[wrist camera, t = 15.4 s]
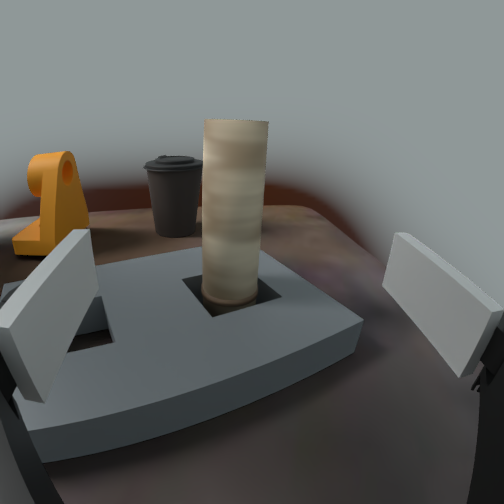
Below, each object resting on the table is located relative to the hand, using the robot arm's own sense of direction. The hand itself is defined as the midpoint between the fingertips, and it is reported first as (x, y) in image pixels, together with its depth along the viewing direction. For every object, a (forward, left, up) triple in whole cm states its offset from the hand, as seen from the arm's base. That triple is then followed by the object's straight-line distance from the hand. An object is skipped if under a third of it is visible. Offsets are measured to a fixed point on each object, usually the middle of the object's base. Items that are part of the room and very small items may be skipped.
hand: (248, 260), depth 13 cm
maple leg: (-8, +4, -10) cm, 13 cm away
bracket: (-32, -10, -10) cm, 35 cm away
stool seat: (-8, -2, -10) cm, 13 cm away
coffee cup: (-29, +7, -10) cm, 31 cm away
